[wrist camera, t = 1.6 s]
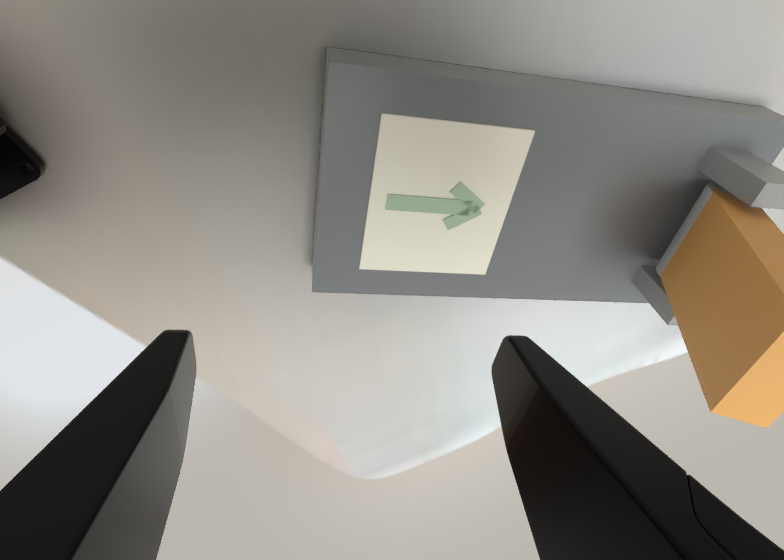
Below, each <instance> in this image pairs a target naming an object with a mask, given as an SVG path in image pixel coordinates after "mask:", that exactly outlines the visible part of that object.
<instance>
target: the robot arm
mask: <svg viewBox="0 0 784 560" xmlns="http://www.w3.org/2000/svg"><path fill="white" fill-rule="evenodd" d="M23 162H24V163H27V164H29V165H30V166H31V167H32V168H33V170H29V169H27V168H26V167H25V166H24V165H23ZM44 171H45V165H44V163H43V161H42V160H41V159H40V158H39V157H38V156H37V155H36V154H35V153H34V152H33V151H32V150H31V149H30V148H29V147H28V146H27V145H26V144H25V143H24V142H23V141H22V140H21V139H20V138H19V137H18V136H17V135H16V134H15V133H14V132H13V131H12V130H11V129H10V128H9V127H8V126H7V125H6V124H5V122H4V121H3V120H2V119H1V118H0V199H2V198H3V197H5V196H7V195H9V194H11V193H13V192H15V191H16V190H18V189H20V188H22V187H24V186H26V185H27V184H29V183H31V182H33V181H35V180H37V179H38V178H39V177H40V176H41V175H42V174H43V173H44ZM195 378H196V358H195V350H194V343H193V336H192V333H191V332H190V331H188V330H165V331H163V332H162V333H161V334H160V335H159V336H158V337H157V338H156V339H155V340H154V341H153V342H152V343H151V344H150V345H149V346H148V347H146V348H145V349H144V351H142V352H141V353H140V354H139V355H138V356H137V357H136V358H135V359H134V360H133V361H132V362H131V363H130V364H129V365H128V366H127V367H126V368H125V369H124V370H123V371H122V372H121V373H120V374H119V375H118V376H117V377H116V378H115V379H114V380H113V381H112V382H111V383H110V384H109V385H108V386H107V387H106V388H105V389H104V390H103V391H102V392H101V393H100V394H99V395H98V396H97V397H96V398H95V399H93V401H91V402H90V403H89V405H87V406H86V407H85V408H84V409H83V410H82V411H81V412H80V413H79V414H78V415H77V416H76V417H75V418H74V419H73V420H72V421H71V422H70V423H69V424H68V425H67V426H66V427H65V428H64V429H63V430H62V431H61V432H60V433H59V434H58V435H57V436H56V437H55V438H54V439H53V440H52V441H51V442H50V443H49V444H48V445H47V446H46V447H45V448H44V449H43V450H42V451H41V452H40V453H39V454H38V455H36V456H35V457H34V458H33V459H32V460H31V461H30V462H29V463H28V464H27V465H26V466H25V467H24V468H23V469H22V470H21V471H20V472H19V473H18V474H17V475H16V476H15V477H14V478H13V479H12V480H11V481H10V482H9V483H8V484H7V485H6V486H5V487H4V488H3V489H2V490H1V491H0V560H156V557H157V554H158V550H159V546H160V543H161V539H162V536H163V532H164V528H165V525H166V521H167V518H168V514H169V510H170V507H171V503H172V499H173V496H174V492H175V489H176V485H177V481H178V478H179V474H180V470H181V466H182V462H183V457H184V451H185V445H186V439H187V431H188V426H189V419H190V412H191V405H192V398H193V391H194V385H195ZM492 379H493V384H494V389H495V395H496V400H497V405H498V410H499V415H500V421H501V426H502V431H503V436H504V441H505V445H506V449H507V453H508V457H509V460H510V463H511V466H512V470H513V473H514V476H515V479H516V483H517V486H518V489H519V492H520V495H521V498H522V502H523V505H524V509H525V512H526V515H527V518H528V522H529V525H530V528H531V531H532V535H533V538H534V541H535V544H536V548H537V551H538V554H539V557H540V560H784V550H782V549H781V548H780V547H778V546H777V545H776V544H775V543H773V542H772V541H771V540H769V539H768V538H767V537H766V536H764V535H763V534H762V533H760V532H759V531H758V530H757V529H755V528H754V527H753V526H751V525H750V524H748V522H746V521H745V520H744V519H742V518H741V517H740V516H739V515H737V514H736V513H735V512H734V511H732V510H731V509H730V508H729V507H728V506H726V505H725V504H724V503H723V502H722V501H721V500H719V499H718V498H717V497H716V496H714V495H713V494H712V493H711V492H710V491H708V490H707V489H706V488H705V487H704V486H703V485H701V484H700V483H699V482H698V481H697V480H695V479H694V478H693V477H692V476H691V475H687V474H686V471H685V470H684V469H682V468H681V467H680V466H679V465H678V464H677V463H675V462H674V461H673V460H672V459H671V458H669V457H668V456H667V455H666V454H665V453H663V452H662V451H661V450H660V449H659V448H658V447H656V446H655V445H654V444H653V443H652V442H651V441H649V440H648V439H647V438H646V437H645V436H644V435H642V434H641V433H640V432H639V431H638V430H637V429H635V428H634V427H633V426H632V425H631V424H630V423H628V422H627V421H626V420H625V419H624V418H622V417H621V416H620V415H619V414H618V413H616V412H615V411H614V410H613V409H612V408H611V407H609V406H608V405H607V404H606V403H605V402H603V401H602V400H601V399H600V398H599V397H598V396H597V395H595V394H594V393H593V392H592V391H591V390H590V389H588V388H587V387H586V386H585V385H584V384H583V383H581V382H580V381H579V380H578V379H577V378H575V377H574V376H573V375H572V374H571V373H570V372H568V371H567V370H566V369H565V368H564V367H563V366H561V365H560V364H559V363H558V362H557V361H555V360H554V359H553V358H552V357H551V356H550V355H548V354H547V353H546V352H545V351H544V350H543V349H541V348H540V347H539V346H538V345H537V344H536V343H534V342H533V341H532V340H531V339H529V338H528V337H526V336H506V337H505V338H504V339H503V341H502V343H501V345H500V347H499V350H498V352H497V355H496V357H495V359H494V362H493V365H492Z"/></svg>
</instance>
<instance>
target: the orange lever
mask: <svg viewBox="0 0 784 560" xmlns="http://www.w3.org/2000/svg"><path fill="white" fill-rule="evenodd" d="M656 272H657V273H658V275H659V276H660V277H661V280H662V283H663V285H664V288H665V291H666V294H667V296H668V299H669V302H670V304H671V307H672V310H673V312H674V315H675V318H676V320H677V323H678V326H679V329H680V331H681V334H682V337H683V339H684V342H685V345H686V347H687V350H688V353H689V355H690V358H691V361H692V363H693V366H694V369H695V372H696V374H697V377H698V380H699V382H700V385H701V388H702V391H703V393H704V396H705V399H706V401H707V404H708V407H709V409H710V412H712V413H716V414H719V415H723V416H726V417H730V418H733V419H736V420H740V421H743V422H747V423H750V424H754V425H757V426H761V427H764V428H767V427H768V426H769V425H770V424H771V423H772V422H773V421H774V420H775V419H776V418H777V417H779V416H780V415H781V414H782V413H783V412H784V234H783V233H782V232H781V231H780V230H779V228H778V227H777V226H776V225H775V224H774V222H773V221H772V220H771V219H770V218H769V217H768V215H767V214H766V213H765V212H764V211H763V209H762V208H760V207H750V206H749V205H747V204H746V203H744V202H743V201H742V200H740V199H739V198H737V197H736V196H734V195H733V194H732V193H730V192H729V191H727V190H726V189H725V188H723V187H722V186H720V185H719V184H717V183H708V184H707V185H706V187H705V188H704V190H703V191H702V193H701V195H700V196H699V198H698V200H697V201H696V203H695V204H694V206H693V208H692V209H691V211H690V213H689V214H688V216H687V217H686V219H685V221H684V222H683V224H682V226H681V227H680V229H679V230H678V232H677V234H676V235H675V237H674V239H673V240H672V242H671V243H670V245H669V247H668V248H667V250H666V252H665V253H664V255H663V256H662V258H661V260H660V261H659V263H658V265H657V266H656Z"/></svg>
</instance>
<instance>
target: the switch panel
mask: <svg viewBox="0 0 784 560" xmlns="http://www.w3.org/2000/svg"><path fill="white" fill-rule="evenodd" d="M783 147H784V116H783V115H780V114H778V113H776V112H774V111H772V110H770V109H767V108H765V107H760V106H753V105H746V104H739V103H731V102H724V101H717V100H710V99H702V98H695V97H688V96H681V95H674V94H666V93H659V92H652V91H645V90H637V89H630V88H623V87H616V86H608V85H601V84H594V83H587V82H579V81H572V80H565V79H558V78H550V77H543V76H536V75H529V74H522V73H514V72H507V71H500V70H493V69H485V68H478V67H471V66H464V65H456V64H449V63H442V62H435V61H427V60H420V59H413V58H406V57H398V56H391V55H384V54H377V53H369V52H362V51H355V50H348V49H341V48H333V47H327V54H326V69H325V83H324V98H323V112H322V126H321V141H320V155H319V170H318V184H317V199H316V213H315V227H314V242H313V256H312V292H327V293H357V294H388V295H418V296H448V297H479V298H509V299H539V300H570V301H600V302H630V303H650V304H651V306H652V307H653V308H654V309H655V310H656V312H657V313H658V314H659V315H660V316H661V318H662V319H663V320H664V321H665V322H666V324H667V325H678V323H677V320H676V318H675V315H674V312H673V310H672V307H671V304H670V302H669V299H668V296H667V294H666V291H665V288H664V285H663V283H662V280H661V277H660V276H659V275H658V273H657V272H656V266H657V265H658V263H659V261H660V260H661V258H662V256H663V255H664V253H665V252H666V250H667V248H668V247H669V245H670V243H671V242H672V240H673V239H674V237H675V235H676V234H677V232H678V230H679V229H680V227H681V226H682V224H683V222H684V221H685V219H686V217H687V216H688V214H689V213H690V211H691V209H692V208H693V206H694V204H695V203H696V201H697V200H698V198H699V196H700V195H701V193H702V191H703V190H704V188H705V187H706V185H707V184H708V183H717V184H719V185H720V186H722V187H723V188H725V189H726V190H727V191H729V192H730V193H732V194H733V195H734V196H736V197H737V198H739V199H740V200H742V201H743V202H744V203H746V204H747V205H749V206H750V207H760V208H772V209H784V171H782V170H780V169H778V168H777V167H775V166H773V165H772V163H773V162H774V160H775V159H776V157H777V156H778V154H779V153H780V151H781V150H782V149H783Z"/></svg>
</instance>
